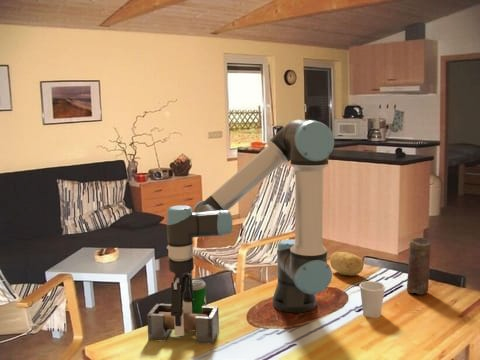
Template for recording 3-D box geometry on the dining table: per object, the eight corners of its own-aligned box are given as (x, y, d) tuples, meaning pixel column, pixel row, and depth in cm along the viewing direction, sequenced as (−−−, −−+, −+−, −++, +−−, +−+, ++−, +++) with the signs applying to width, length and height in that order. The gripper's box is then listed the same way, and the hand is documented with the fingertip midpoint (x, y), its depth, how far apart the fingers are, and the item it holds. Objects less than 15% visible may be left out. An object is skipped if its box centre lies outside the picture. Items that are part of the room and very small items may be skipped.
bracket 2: (218, 330, 157) (218, 306, 156) (212, 344, 148) (211, 318, 147) (203, 329, 158) (202, 305, 157) (196, 343, 149) (195, 317, 148)
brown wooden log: (208, 324, 156) (207, 311, 154) (205, 334, 151) (203, 321, 149) (162, 321, 158) (160, 308, 156) (157, 332, 154) (155, 318, 152)
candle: (430, 291, 185) (432, 238, 182) (426, 298, 179) (428, 244, 176) (409, 287, 189) (411, 236, 186) (404, 294, 183) (406, 241, 180)
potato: (344, 281, 196) (345, 258, 195) (327, 270, 210) (327, 248, 208) (367, 278, 199) (367, 255, 198) (348, 267, 213) (348, 245, 212)
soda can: (203, 320, 164) (202, 286, 162) (181, 319, 166) (179, 284, 164) (209, 311, 172) (208, 277, 170) (188, 310, 173) (186, 276, 171)
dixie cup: (389, 313, 167) (390, 284, 165) (377, 321, 161) (377, 292, 159) (366, 306, 172) (367, 279, 171) (354, 314, 166) (354, 286, 165)
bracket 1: (148, 339, 152) (147, 315, 151) (158, 327, 160) (156, 303, 159) (164, 341, 151) (162, 315, 150) (173, 328, 160) (171, 304, 158)
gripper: (179, 246, 161) (182, 313, 165) (157, 268, 141) (160, 343, 144) (201, 247, 160) (204, 314, 164) (182, 269, 140) (186, 345, 143)
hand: (183, 328), depth 154 cm, fingers open, 8 cm apart
